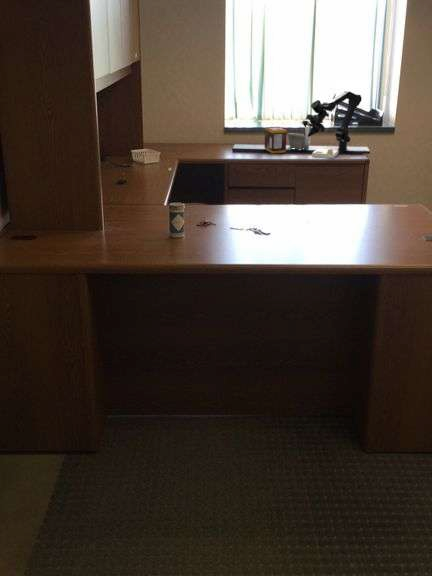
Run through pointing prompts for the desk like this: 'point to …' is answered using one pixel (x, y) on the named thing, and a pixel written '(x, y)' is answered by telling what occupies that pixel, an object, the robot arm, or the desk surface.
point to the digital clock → (297, 141)
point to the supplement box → (275, 139)
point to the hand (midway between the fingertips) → (306, 135)
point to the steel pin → (307, 131)
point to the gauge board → (325, 153)
